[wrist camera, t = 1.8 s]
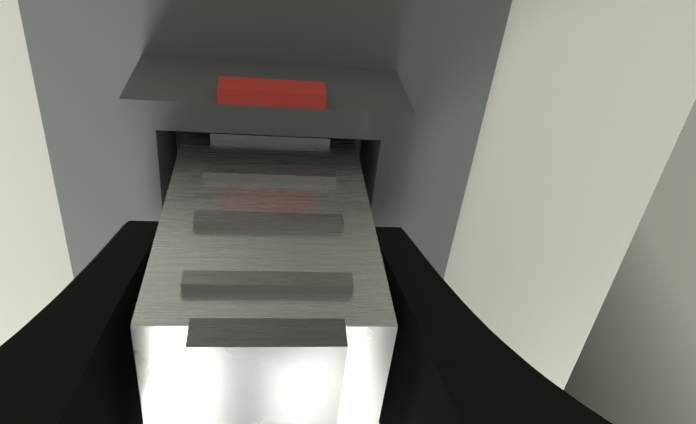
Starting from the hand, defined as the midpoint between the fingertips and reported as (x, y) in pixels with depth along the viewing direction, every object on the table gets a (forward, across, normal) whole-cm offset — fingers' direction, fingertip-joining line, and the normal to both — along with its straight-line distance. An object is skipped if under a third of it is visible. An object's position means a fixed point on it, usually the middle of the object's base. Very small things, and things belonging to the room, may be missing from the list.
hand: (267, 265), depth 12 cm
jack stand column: (+3, 0, 0) cm, 3 cm away
